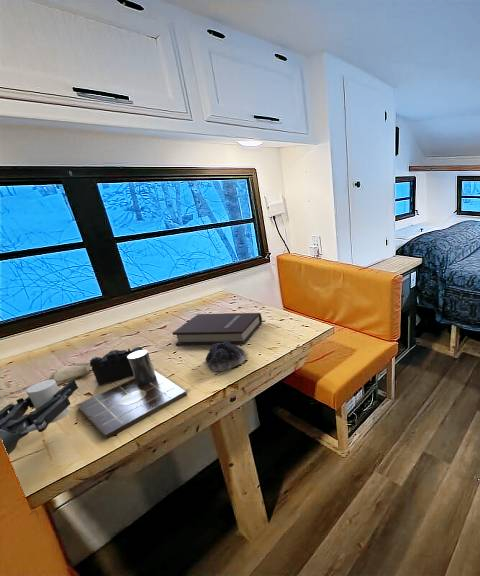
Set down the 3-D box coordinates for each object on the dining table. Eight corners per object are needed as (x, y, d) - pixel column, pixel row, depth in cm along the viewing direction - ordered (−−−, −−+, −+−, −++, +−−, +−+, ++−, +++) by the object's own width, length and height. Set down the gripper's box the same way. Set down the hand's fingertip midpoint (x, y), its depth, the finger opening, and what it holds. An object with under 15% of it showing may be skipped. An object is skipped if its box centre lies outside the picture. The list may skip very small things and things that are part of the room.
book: (262, 322, 142) (260, 311, 139) (244, 344, 123) (241, 331, 121) (203, 324, 142) (200, 312, 140) (176, 345, 124) (172, 332, 122)
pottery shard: (52, 391, 100) (88, 375, 104) (43, 381, 99) (80, 365, 102) (66, 375, 109) (98, 361, 113) (57, 366, 108) (91, 352, 111)
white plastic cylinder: (39, 418, 81) (23, 388, 78) (66, 406, 85) (52, 377, 82) (45, 426, 79) (28, 395, 75) (72, 413, 83) (57, 383, 79)
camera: (150, 358, 115) (142, 335, 112) (149, 372, 107) (140, 347, 103) (102, 371, 108) (92, 347, 104) (97, 387, 99) (86, 361, 96)
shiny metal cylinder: (133, 382, 99) (124, 355, 96) (152, 373, 103) (143, 348, 100) (140, 387, 96) (131, 360, 93) (159, 378, 101) (150, 352, 97)
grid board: (78, 408, 90) (76, 404, 90) (154, 373, 106) (153, 369, 106) (107, 439, 79) (105, 434, 79) (187, 395, 95) (186, 390, 94)
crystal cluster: (223, 352, 119) (215, 331, 115) (254, 352, 117) (247, 330, 113) (200, 375, 107) (189, 352, 103) (234, 375, 105) (224, 352, 101)
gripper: (-68, 478, 63) (28, 402, 84) (38, 460, 67) (104, 391, 88) (-88, 451, 60) (16, 379, 82) (24, 433, 64) (95, 369, 85)
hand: (62, 385), depth 85 cm, fingers closed on white plastic cylinder, 5 cm apart
